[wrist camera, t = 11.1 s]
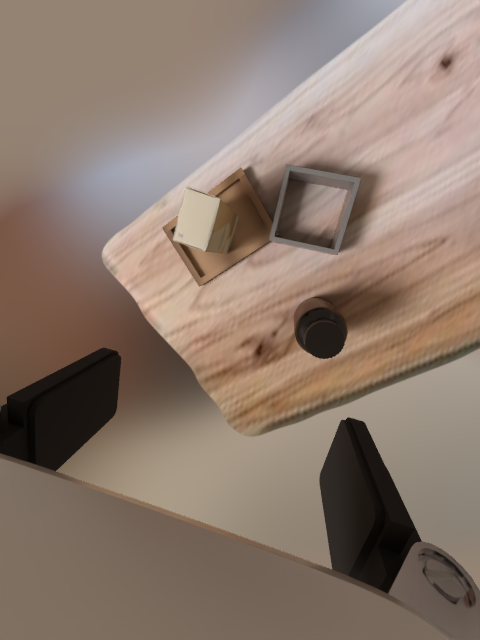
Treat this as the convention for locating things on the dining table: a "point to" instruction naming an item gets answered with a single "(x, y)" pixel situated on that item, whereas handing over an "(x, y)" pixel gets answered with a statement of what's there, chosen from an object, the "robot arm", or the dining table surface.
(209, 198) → the skincare box
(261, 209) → the tray
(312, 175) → the holder
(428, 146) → the dining table surface
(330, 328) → the supplement bottle
